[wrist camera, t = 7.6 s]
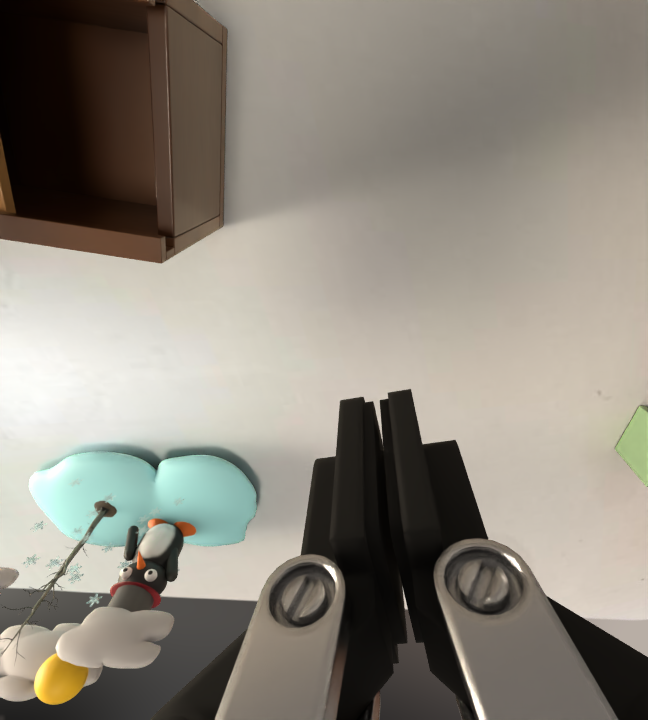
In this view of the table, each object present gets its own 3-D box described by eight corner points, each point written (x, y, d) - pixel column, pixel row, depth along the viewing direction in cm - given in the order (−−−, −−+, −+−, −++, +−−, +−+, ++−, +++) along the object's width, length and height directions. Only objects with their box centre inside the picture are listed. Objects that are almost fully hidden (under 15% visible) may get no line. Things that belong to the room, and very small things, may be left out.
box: (227, 29, 22) (147, -41, 14) (223, 226, 26) (161, 263, 18) (-20, -8, 22) (-248, -100, 14) (19, 195, 26) (-133, 218, 18)
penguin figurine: (255, 446, 34) (187, 642, 21) (267, 538, 39) (218, 744, 26) (25, 441, 36) (-176, 618, 22) (64, 529, 41) (-82, 719, 27)
